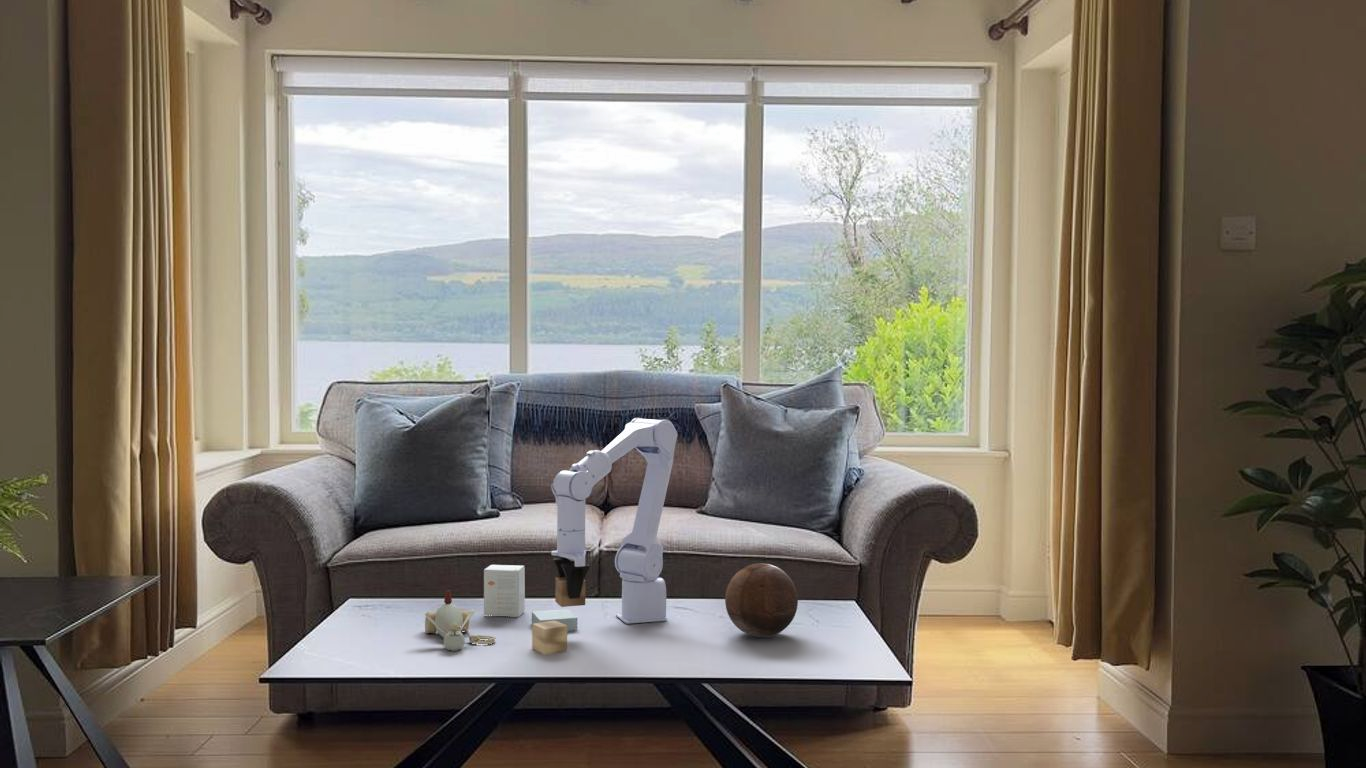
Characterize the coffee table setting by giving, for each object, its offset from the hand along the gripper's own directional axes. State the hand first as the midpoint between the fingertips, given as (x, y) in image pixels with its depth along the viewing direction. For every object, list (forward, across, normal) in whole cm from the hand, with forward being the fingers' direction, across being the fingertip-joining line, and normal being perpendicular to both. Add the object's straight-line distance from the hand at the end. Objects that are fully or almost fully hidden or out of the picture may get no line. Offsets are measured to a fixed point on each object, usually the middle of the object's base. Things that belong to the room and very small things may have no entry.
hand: (570, 595), depth 217 cm
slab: (+9, -8, -1) cm, 12 cm away
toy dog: (+9, -5, -23) cm, 25 cm away
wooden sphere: (+9, +12, +37) cm, 40 cm away
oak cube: (+8, +9, -7) cm, 14 cm away
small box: (+9, -22, -9) cm, 25 cm away
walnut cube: (+2, 0, 0) cm, 2 cm away
